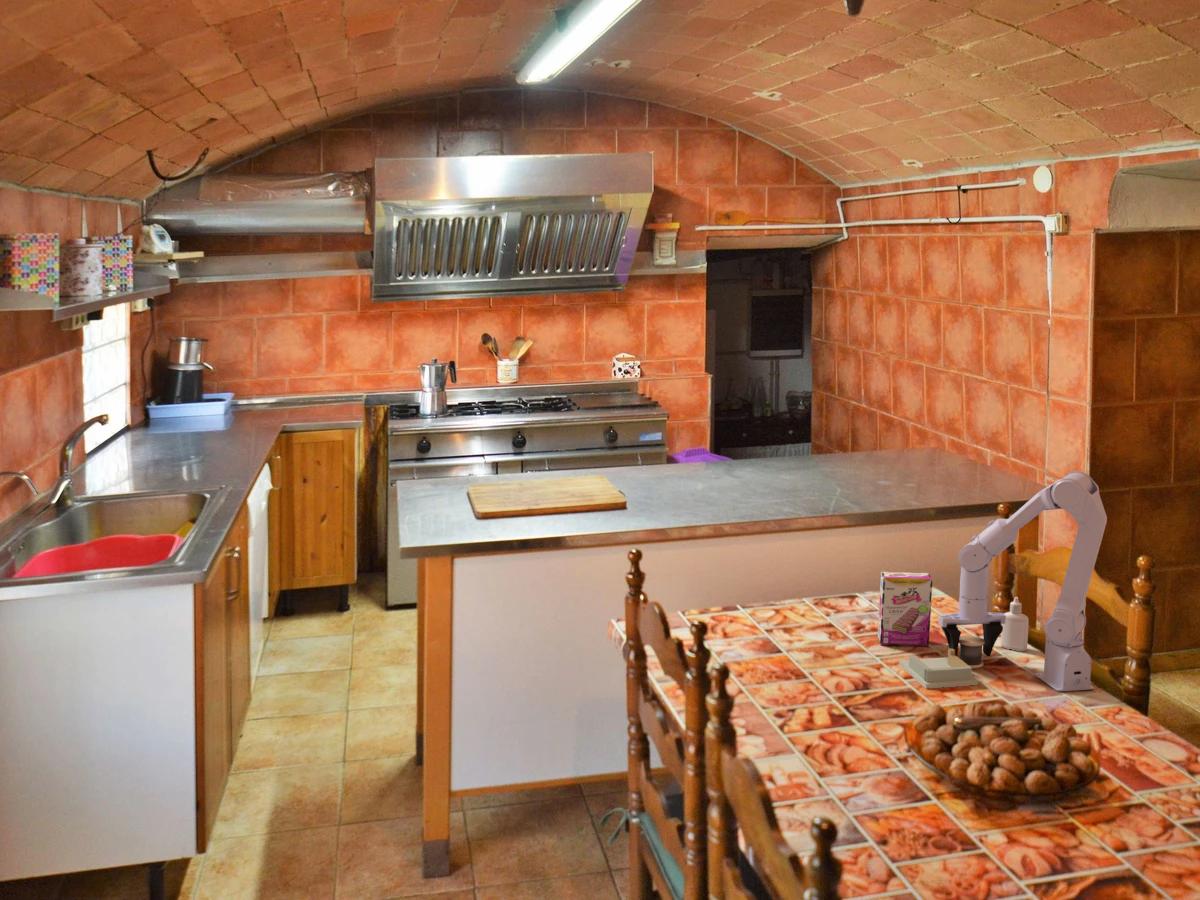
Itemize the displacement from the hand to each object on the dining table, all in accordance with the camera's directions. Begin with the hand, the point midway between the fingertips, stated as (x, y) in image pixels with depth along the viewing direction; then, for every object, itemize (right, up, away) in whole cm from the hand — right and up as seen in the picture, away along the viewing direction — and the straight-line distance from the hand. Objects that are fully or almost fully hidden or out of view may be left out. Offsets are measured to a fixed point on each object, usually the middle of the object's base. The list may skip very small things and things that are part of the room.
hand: (970, 655), depth 247 cm
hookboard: (-9, -3, -6) cm, 11 cm away
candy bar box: (-11, 0, +14) cm, 18 cm away
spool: (0, -2, 0) cm, 2 cm away
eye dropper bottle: (+13, 0, +10) cm, 16 cm away
